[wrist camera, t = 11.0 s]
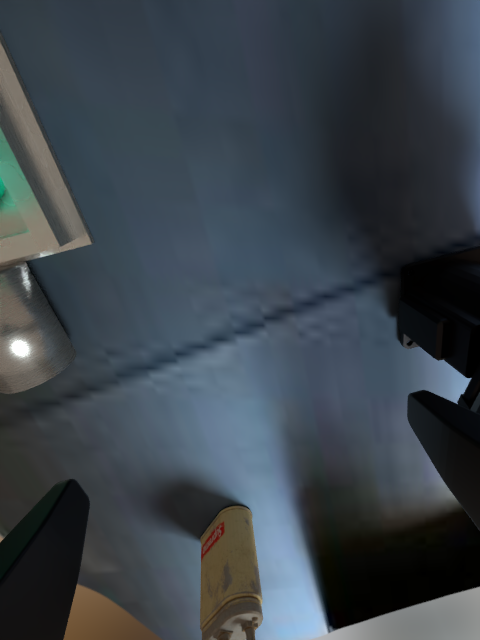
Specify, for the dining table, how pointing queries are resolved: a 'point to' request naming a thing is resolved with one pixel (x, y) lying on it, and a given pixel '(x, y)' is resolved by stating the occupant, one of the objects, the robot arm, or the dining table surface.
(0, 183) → the candle
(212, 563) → the lighter
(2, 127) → the white tray
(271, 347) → the dining table surface
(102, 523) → the dining table surface
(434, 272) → the robot arm
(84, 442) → the dining table surface
